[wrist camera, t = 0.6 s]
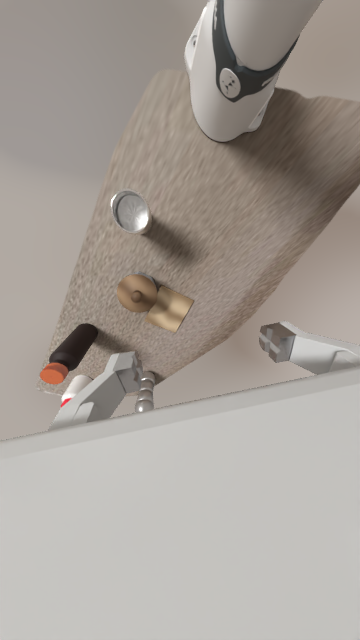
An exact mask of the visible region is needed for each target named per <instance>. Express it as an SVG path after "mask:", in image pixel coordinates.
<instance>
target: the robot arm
mask: <svg viewBox="0 0 360 640" xmlns="http://www.w3.org/2000/svg"><path fill="white" fill-rule="evenodd" d="M322 1H323V0H208V3H207V5H206V7H205V8H204V10H203V13H202V15H201V17H200V19H199V21H198V23H197V25H196V27H195V29H194V31H193V33H192V35H191V37H190V39H189V41H188V43H187V45H186V48H185V53H184V60H185V64H186V68H187V71H188V75H189V78H190V89H191V102H192V108H193V112H194V115H195V118H196V120H197V122H198V124H199V126H200V128H201V129H202V131H203V132H204V133H205V134H206V135H207V136H208V137H210V138H211V139H213V140H216V141H220V142H225V141H230V140H232V139H234V138H236V137H237V136H239V135H240V134H242V133H244V132H252V131H255V130H257V128H258V127H259V126H260V124H261V122H262V119H263V116H264V113H265V111H266V108H267V105H268V102H269V99H270V98H271V96H272V95H273V93H274V86H275V84H276V81H277V79H278V75H279V73H280V70H281V68H282V67H283V65H284V64H285V62H286V61H287V59H288V57H289V55H290V53H291V51H292V50H293V48H294V46H295V44H296V42H297V40H298V38H299V36H300V33H301V32H302V30H303V29H304V27H305V26H306V24H307V23H308V21H309V20H310V18H311V17H312V16H313V14H314V13H315V11H316V10H317V8H318V7H319V5H320V4H321V2H322ZM193 45H195V48H194V47H193ZM258 115H259V116H258ZM260 332H261V333H262V335H261V336H260V338H259V342H260V346H261V348H262V349H263V350H264V351H266V352H268V353H269V356H270V357H271V358H272V359H273V360H274V362H276V363H277V362H283V361H289V360H290V362H292V363H294V364H296V365H298V366H300V367H303V368H304V369H307V370H309V371H311V372H313V373H315V374H317V375H315V376H310V377H305V378H300V379H296V380H291V381H286V382H281V383H276V384H271V385H266V386H262V387H257V388H252V389H247V390H242V391H237V392H233V393H228V394H223V395H218V396H213V397H209V398H204V399H200V400H194V401H190V402H185V403H180V404H175V405H170V406H165V407H161V408H156V409H151V410H146V411H141V412H137V413H132V414H127V415H122V416H118V417H113V418H110V416H111V415H112V414H113V412H114V411H115V409H116V408H117V406H118V405H119V404H120V402H121V401H122V399H123V398H124V397H125V395H126V393H130V392H135V391H139V390H140V389H141V382H142V381H141V378H140V377H141V376H142V374H143V367H142V363H141V360H139V359H138V357H139V354H138V352H137V351H136V350H134V351H128V352H122V353H117V354H112V355H111V357H110V359H109V361H108V364H107V366H106V368H105V370H104V373H103V374H100V375H99V376H98V377H97V378H95V379H94V380H93V381H92V382H91V383H89V384H88V385H87V386H86V387H85V388H84V389H82V390H81V391H80V392H79V393H78V394H77V395H75V396H74V397H73V398H72V399H71V400H70V401H68V402H67V403H66V404H65V405H64V406H62V407H61V409H60V411H59V413H58V414H57V416H56V418H55V419H54V421H53V422H52V424H51V426H50V428H49V429H48V431H45V432H40V433H35V434H31V435H26V436H21V437H17V438H12V439H6V440H2V441H0V640H360V345H357V344H353V343H349V342H344V341H340V340H336V339H332V338H328V337H324V336H320V335H315V334H311V333H305V332H303V331H302V330H300V329H299V328H297V327H295V326H294V325H292V324H290V323H288V322H287V321H282V322H278V323H274V324H269V325H264V326H262V327H261V329H260Z"/></svg>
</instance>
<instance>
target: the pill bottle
mask: <svg viewBox="0 0 360 640" xmlns="http://www.w3.org/2000/svg"><path fill="white" fill-rule="evenodd" d="M92 381H93V380H92V379H91V378H90V377H88V376H85V375H78V376H76V377H74V378H73V380H72V382H71V383H70V385H69V387H68V388H67V390H66V391H65V393H64V395H63V396H62V399H61V400H62V402H63V403H62V405H61V407H62V406H64V405H65V404H66V403H67V402H68V401H70V400H71V399H72V398H73V397H74V396H75V395H77V394H78V393H79V392H80V391H81V390H82V389H84V388H85V387H86V386H87V385H88V384H89V383H91V382H92Z"/></svg>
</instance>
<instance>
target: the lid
mask: <svg viewBox="0 0 360 640" xmlns="http://www.w3.org/2000/svg"><path fill="white" fill-rule="evenodd" d="M117 296H118V299H119V301H120V303H121V304H122V305H123V306H124V307H125V308H126V309H128V310H130V311H132V312H138V313H141V312H146V311H148V310H150V309H151V308H152V307H153V306H154V305H155V303H156V301H157V289H156V286H155V284H154V283H153V282H152V281H151V280H150V279H149V278H148V277H146V276H144V275H140V274H132V275H128V276H126V277H125V278H124V279H122V281H121V282H120V283H119V285H118V288H117Z"/></svg>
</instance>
